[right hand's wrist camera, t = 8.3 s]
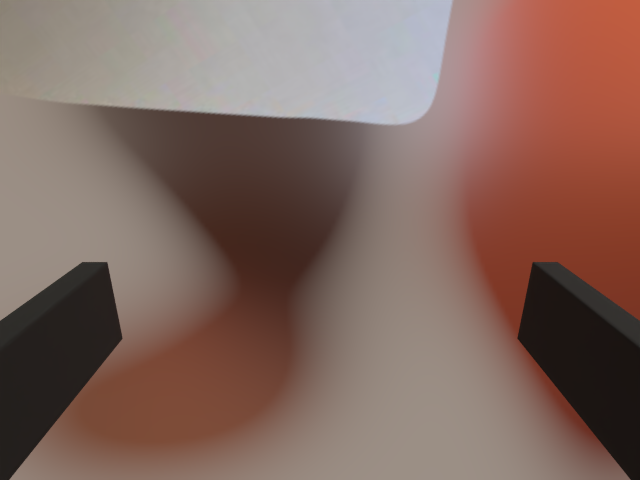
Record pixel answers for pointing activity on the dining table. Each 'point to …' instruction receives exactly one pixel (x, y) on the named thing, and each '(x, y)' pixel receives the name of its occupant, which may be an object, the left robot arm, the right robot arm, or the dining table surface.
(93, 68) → the dining table surface
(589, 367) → the right robot arm
